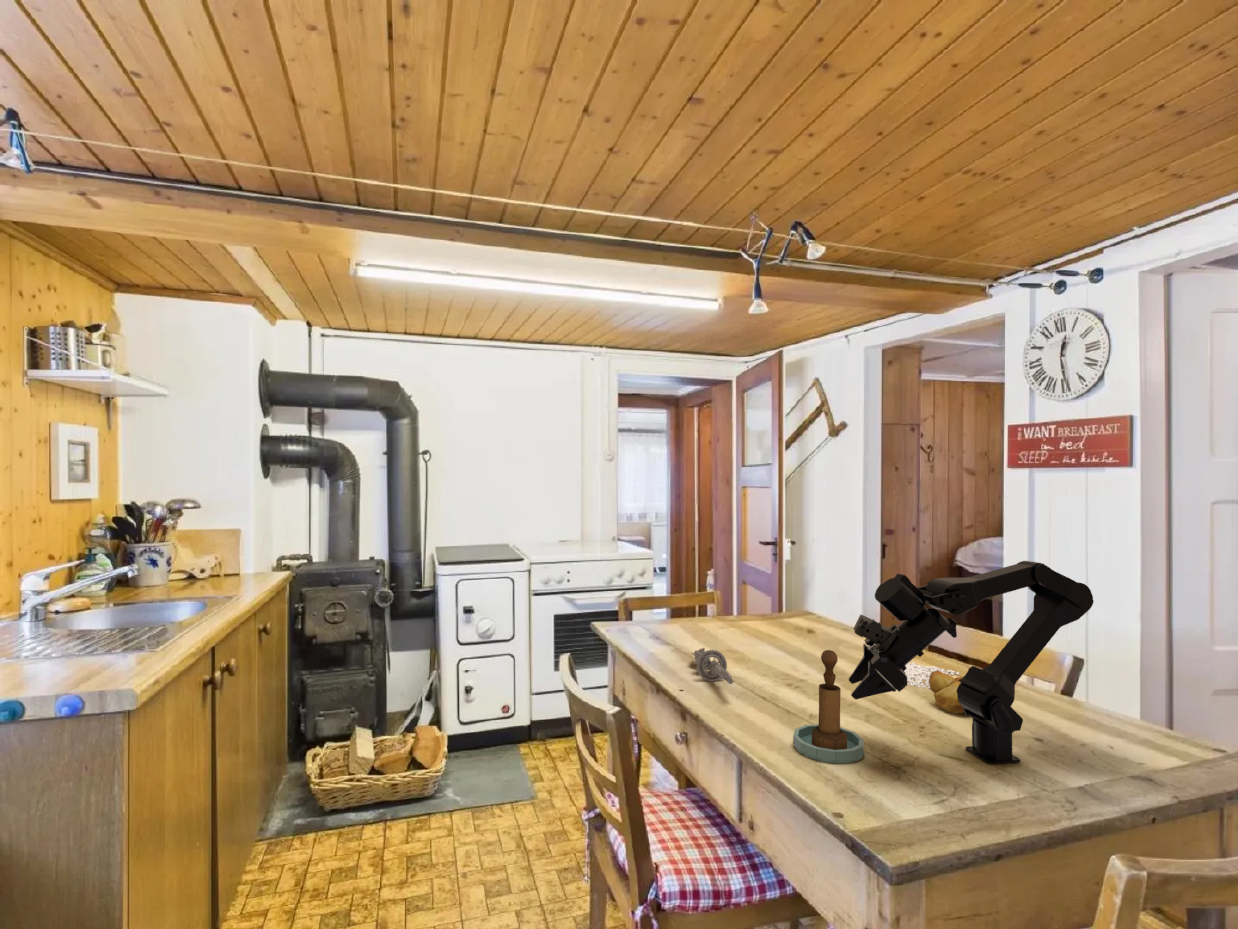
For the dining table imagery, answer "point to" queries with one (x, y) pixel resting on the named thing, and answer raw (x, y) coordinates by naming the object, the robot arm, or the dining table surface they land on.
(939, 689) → the bread roll
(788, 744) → the dining table surface
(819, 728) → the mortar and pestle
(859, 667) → the robot arm
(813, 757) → the glazed dish
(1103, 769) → the dining table surface
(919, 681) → the salt crystals
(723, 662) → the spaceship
